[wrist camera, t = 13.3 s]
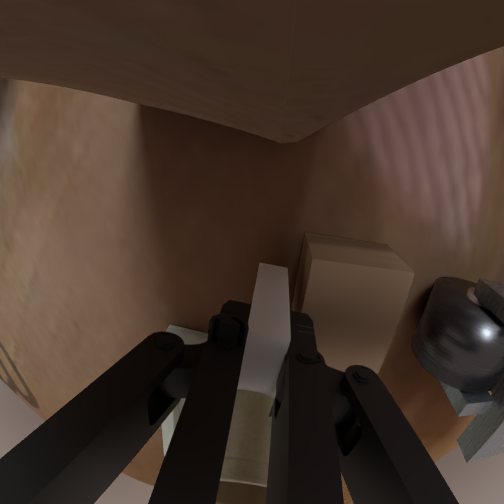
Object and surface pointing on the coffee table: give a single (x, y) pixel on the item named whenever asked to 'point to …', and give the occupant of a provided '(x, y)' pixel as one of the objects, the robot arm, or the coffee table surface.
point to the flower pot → (247, 451)
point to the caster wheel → (467, 357)
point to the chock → (351, 298)
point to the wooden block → (244, 53)
